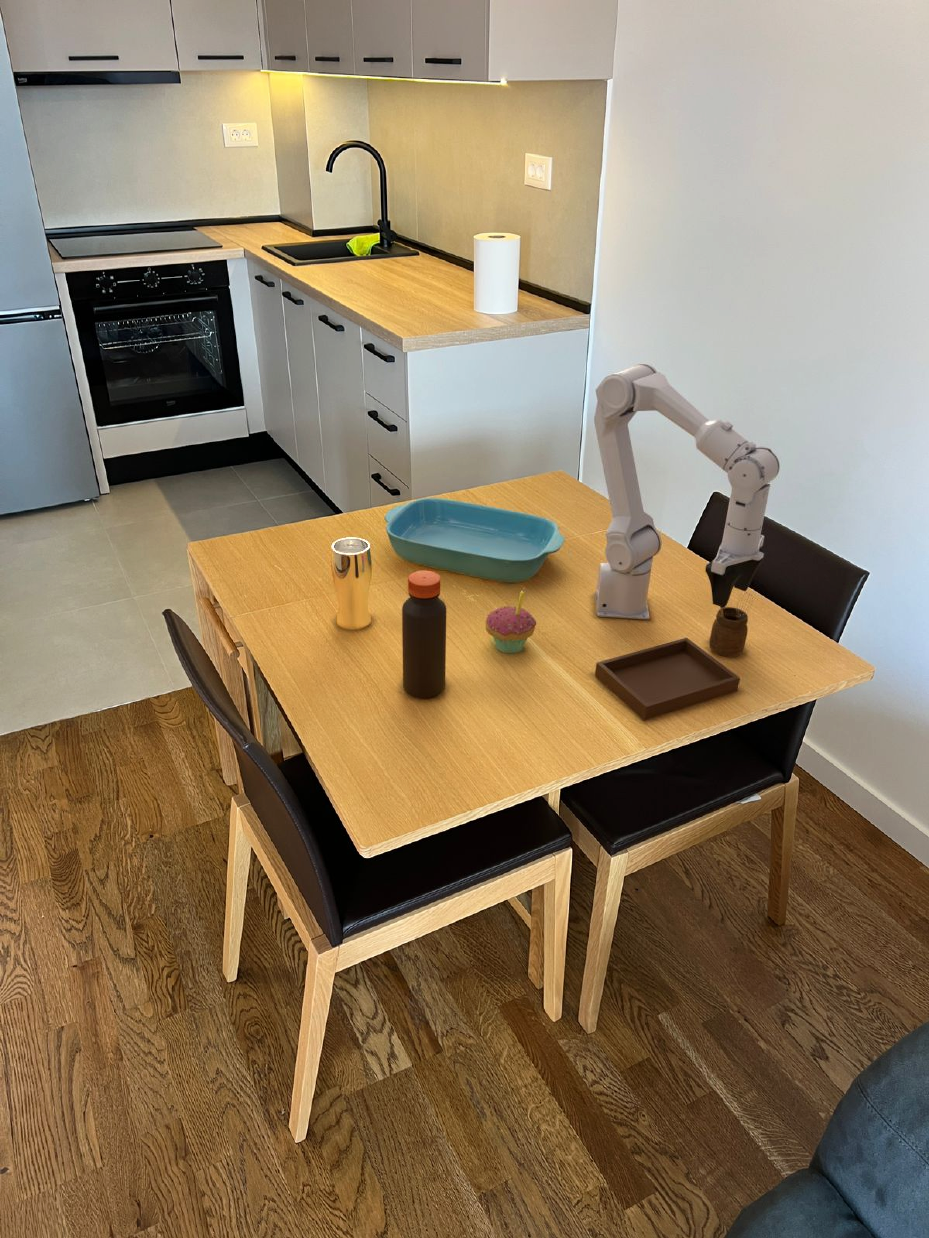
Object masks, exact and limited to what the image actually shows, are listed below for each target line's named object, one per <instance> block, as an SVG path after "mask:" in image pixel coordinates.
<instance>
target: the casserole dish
mask: <svg viewBox="0 0 929 1238" xmlns="http://www.w3.org/2000/svg"><path fill="white" fill-rule="evenodd" d="M384 521H385V522H386V525H385V531H386V534H387V537H388V540H389V543H390V546H391V547H392V549H393V551H394V552H395V554H396V555H397V556H398V557H400V558H401V559H403V560H404V561H406V562H409V563H411V564H415V565H418V566H421V567H426V568H430V569H436V570H440V571H445V572H449V573H454V574H460V575H463V576H468V577H473V578H477V579H478V578H479V579H483V580H487V581H494V582H500V583H507V584H521V583H524V582H526V581H527V580H529V579H532V578H534V576H535V575H536V574H537V573H538V572H539V570H540V569H541V568H542V566H543V565H544V563H545V561H546V560H547V558H548V557H549V555H550V554H553V553H557V552H559V551H560V549H561V548H562V547H563V545H564V543H565V540H566V539H565V537H564V535H563V534H562V533H561V532H560V526H559V525H558V524H557V523H556V522H555V521H553V520H551V519H549V518H546V517H543V516H539V515H537V514H530V513H526V512H521V511H516V510H511V509H505V508H499V507H494V506H489V505H484V504H478V503H473V502H466V501H460V500H455V499H448V498H442V497H424V498H419V499H415V500H412V501H410V502H407V503H403V504H401V505H397V506H394V507H393V508H391V509H390V510H388V511H387V512H386V514H385V515H384Z"/></svg>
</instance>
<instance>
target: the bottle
mask: <svg viewBox="0 0 929 1238" xmlns="http://www.w3.org/2000/svg"><path fill="white" fill-rule="evenodd" d="M441 584H442V578H441V576H440V575H439V573H437V572H435V571H431V570H417V571H414V572H412V573H410V574H409V575H408V576H407V592H408V596H409V597H408V598H407V599H406V600H405V601H404V603H402V607H401V620H402V621H401V636H402V638H401V639H402V688H403V691H404V692H405V693H406V694H407V695H409V696H410V697H412V698H416V699H423V700H427V699H433V698H435V697H438V696H439V695H441V694H442V693H443V692H444V690H445V688H446V668H447V667H446V665H447V660H446V659H447V657H446V656H447V605H446V603H445V601H444V600H443V599H441V598H440V596H441V586H442V585H441Z"/></svg>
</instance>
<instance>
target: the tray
mask: <svg viewBox="0 0 929 1238" xmlns="http://www.w3.org/2000/svg"><path fill="white" fill-rule="evenodd" d="M594 673H595V674H594V676H595V677H596V678H597V680H599V681H600V682H601V683H602V684H603V685H605V686H606V687H607V688H608V689H609V690H610V691H611V692H612V693H613V694H615V696H616V697H618V698H619V699H620V700H621V701H622V702H623V703H624V704H625V705H626V706H628V708H630V709H631V710H632V711H633V712H634V713H635V714H636V715H637V716H639V717H640V718H641V719H642V720H643V721H647V720H651V719H654V718H656V717H661V716H663V715H667V714H670V713H673V712H675V711H676V712H677V711H679V710H682V709H686V708H689V707H692V706H695V705H699V704H701V703H705V702H708V701H710V700H715V699H717V698H720V697H723V696H726V695H731V694H733V693H737V692H738V691H739V686H740V682H741V677H740V676H739V675H737V674H736V673H735V672H733V671H732V670H730V669H729V668H728V667H726V665H724V664H723V663H721V662H720V661H718V660H717V659H716V658H715V657H713V656H712V655H711V654H709V652H707V651H705V650H704V649H702V647H700V646H698V645H697V644H696V643H695V642H693V641H692V640H691V639H689V638H688V637H683V638H680V639H676V640H672V641H669V642H666V643H662V644H658V645H655V646H651V647H648V648H643V649H640V650H637V651H633V652H629V653H626V654H622V655H619V656H616V657H615V656H614V657H612V658H607V659H605V660H601V661H598V662H597V661H596V664H595V672H594Z"/></svg>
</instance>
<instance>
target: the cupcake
mask: <svg viewBox="0 0 929 1238" xmlns="http://www.w3.org/2000/svg"><path fill="white" fill-rule="evenodd" d="M525 589H526V588H525V587H523V589H522V590H521V591H520V592H519V597H518V600H517V606H508V605H507V606H500V607H498V608H496V609H494V610H492V611H490V613H489V614H488V615H487V617H486V619H485V631H486V632H487V633H488V635H490V636H492V638H493V641H494V645H495V648H496V649H497V650H498V651H500V652H502V653H505V654H516V653H519V652H521V651H522V650H523V649H524V647H525V644H526V642H527V640H528V639H529V638H530V637H532V636H533V635H534V632H535V630H536V626H537V621H536V618H534V617H533V615H532V614H531V613H530V612H528V611H527V610H525V608H524V609H523V608H522V604H523V600H524V597H525V596H524V595H525Z"/></svg>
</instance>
